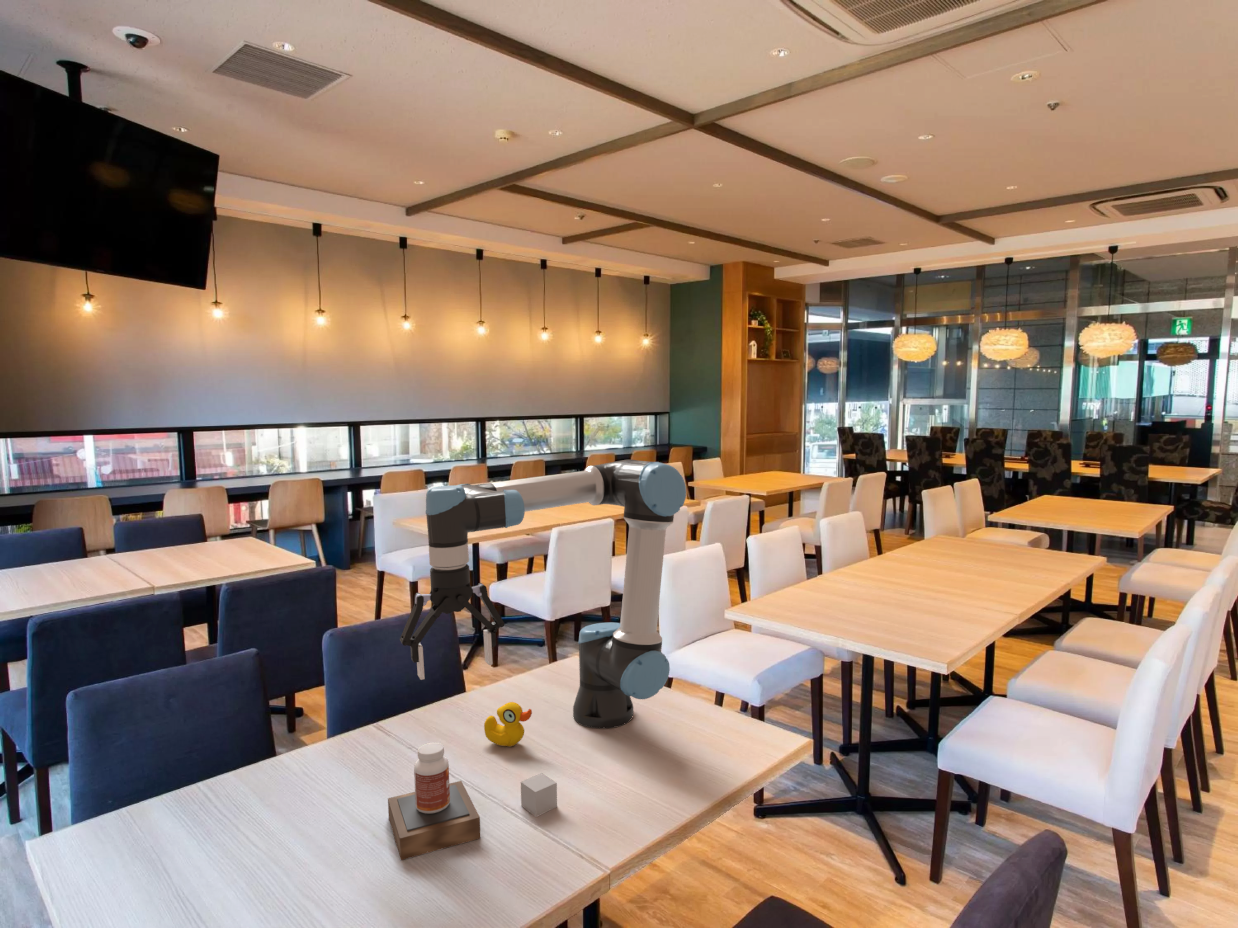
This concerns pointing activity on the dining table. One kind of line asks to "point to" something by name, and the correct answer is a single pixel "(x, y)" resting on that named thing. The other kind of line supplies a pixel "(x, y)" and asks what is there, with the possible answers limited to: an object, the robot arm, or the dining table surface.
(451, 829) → the podium
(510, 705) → the duckling
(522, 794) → the stone block
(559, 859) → the dining table surface
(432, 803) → the pill bottle
